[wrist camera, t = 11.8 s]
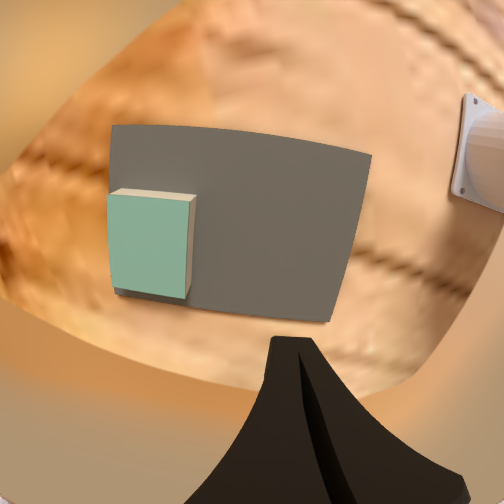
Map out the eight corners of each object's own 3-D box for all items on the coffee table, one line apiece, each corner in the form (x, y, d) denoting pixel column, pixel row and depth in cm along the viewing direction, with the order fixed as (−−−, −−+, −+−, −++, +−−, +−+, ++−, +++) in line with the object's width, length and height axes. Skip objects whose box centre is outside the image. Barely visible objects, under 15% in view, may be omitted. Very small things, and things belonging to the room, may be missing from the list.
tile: (189, 202, 15) (106, 195, 15) (184, 298, 17) (112, 286, 17) (196, 194, 17) (121, 188, 17) (191, 283, 19) (123, 272, 19)
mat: (369, 154, 16) (372, 155, 16) (328, 319, 21) (329, 322, 20) (114, 125, 15) (112, 125, 15) (116, 291, 20) (114, 294, 20)
